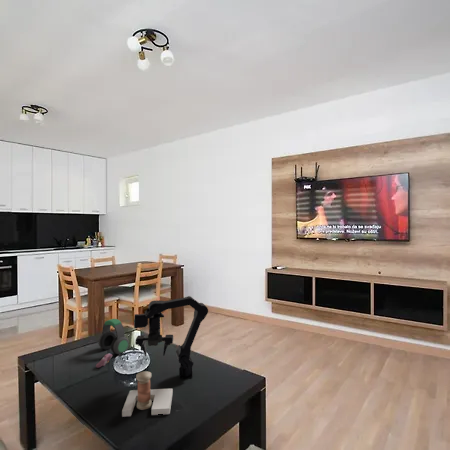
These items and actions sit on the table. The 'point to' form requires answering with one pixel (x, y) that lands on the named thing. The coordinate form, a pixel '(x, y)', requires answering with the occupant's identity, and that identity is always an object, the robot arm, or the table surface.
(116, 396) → the table surface
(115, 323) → the headphones
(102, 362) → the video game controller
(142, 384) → the bobbin
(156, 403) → the notched board
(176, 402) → the table surface
